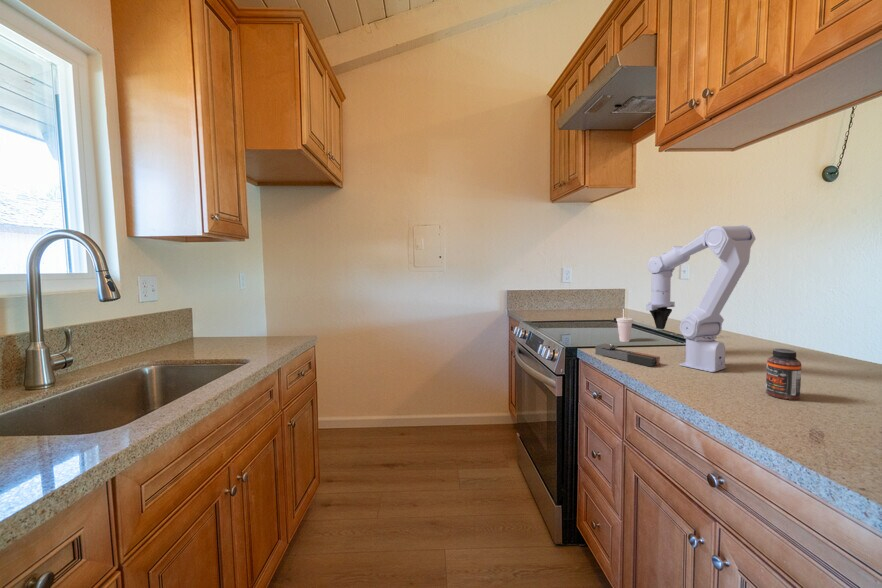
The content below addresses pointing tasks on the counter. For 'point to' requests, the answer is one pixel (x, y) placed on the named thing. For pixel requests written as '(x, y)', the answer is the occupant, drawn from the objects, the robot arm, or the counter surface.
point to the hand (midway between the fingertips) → (660, 328)
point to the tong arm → (657, 359)
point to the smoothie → (624, 328)
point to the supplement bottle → (783, 375)
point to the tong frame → (623, 355)
